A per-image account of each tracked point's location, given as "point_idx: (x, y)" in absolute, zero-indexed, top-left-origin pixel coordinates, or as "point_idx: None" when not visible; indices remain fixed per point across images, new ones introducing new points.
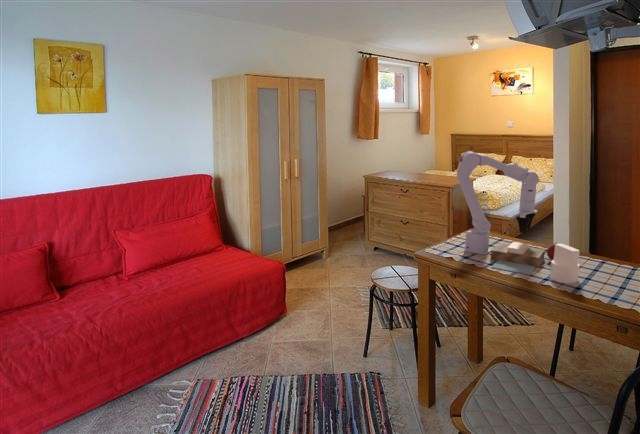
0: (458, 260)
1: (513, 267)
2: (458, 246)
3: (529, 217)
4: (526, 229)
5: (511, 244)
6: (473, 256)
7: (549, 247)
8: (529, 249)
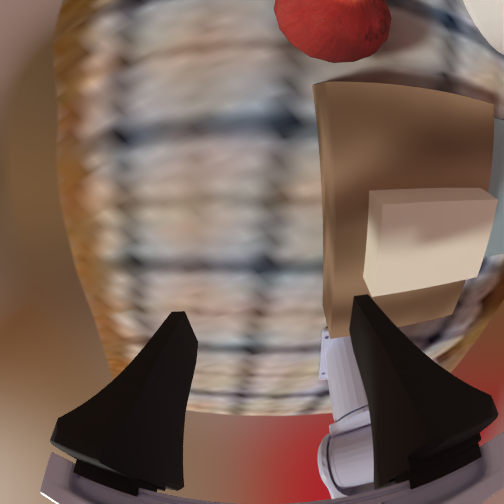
0: (458, 337)
1: (498, 190)
2: (328, 391)
3: (151, 428)
4: (383, 317)
5: (427, 283)
6: (416, 333)
7: (360, 43)
8: (380, 177)
